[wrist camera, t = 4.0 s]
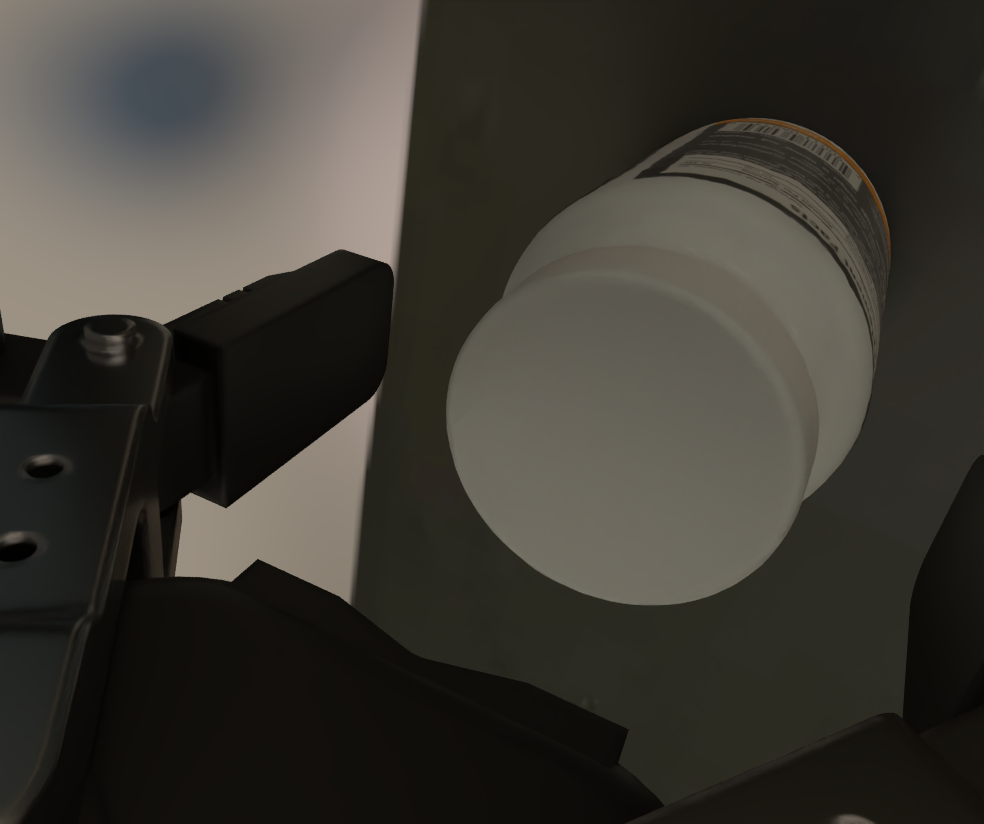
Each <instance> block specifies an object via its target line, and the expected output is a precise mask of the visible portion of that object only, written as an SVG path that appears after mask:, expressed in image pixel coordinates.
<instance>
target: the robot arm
mask: <svg viewBox="0 0 984 824" xmlns="http://www.w3.org/2000/svg"><path fill="white" fill-rule="evenodd" d="M393 288H394V276H393V272H392V269H391V267H390V266H389V265H388V264H387V263H384V262H381V261H377V260H374V259H371V258H368V257H365V256H361V255H358V254H355V253H352V252H349V251H346V250H337V251H335V252H333V253H331V254H329V255H326V256H324V257H322V258H320V259H318V260H316V261H314V262H312V263H310V264H308V265H306V266H303V267H301V268H299V269H297V270H295V271H292V272H286V273H281V274H276V275H270V276H267V277H265V278H263V279H260V280H258V281H256V282H254V283H252V284H250V285H248V286H245V287H243V291H241V290H237V291H235V292H233V293H231V294H228V295H226V296H224V297H223V300H219V299H218V300H215V301H213V302H211V303H209V304H207V305H205V306H203V307H200V308H198V309H196V310H194V311H192V312H190V313H188V314H186V315H183V316H181V317H179V318H177V319H175V320H173V321H170V322H168V323H166V324H164V325H162V324H159V323H158V322H156V321H153V320H150V319H147V318H143V317H138V316H131V315H99V316H91V317H86V318H81V319H78V320H75V321H71V322H69V323H67V324H65V325H62V326H61V327H59V328H57V329H56V330H55V331H54V332H52V333H51V335H50V336H49V338H48V340H43V339H37V338H30V337H24V336H18V335H12V334H6V333H4V330H3V324H2V318H1V313H0V824H984V456H983V455H981V456H980V457H978V458H977V459H976V461H975V462H974V463H973V465H972V466H971V468H970V470H969V472H968V474H967V475H966V477H965V479H964V481H963V483H962V485H961V487H960V489H959V491H958V493H957V495H956V497H955V499H954V501H953V503H952V505H951V507H950V509H949V511H948V513H947V515H946V517H945V519H944V521H943V523H942V525H941V527H940V529H939V531H938V533H937V535H936V537H935V539H934V541H933V543H932V545H931V546H930V548H929V550H928V552H927V554H926V557H925V559H924V561H923V563H922V565H921V568H920V571H919V573H918V576H917V579H916V582H915V585H914V589H913V593H912V597H911V603H910V615H909V630H908V645H907V660H906V675H905V690H904V705H903V719H902V718H901V717H900V716H899V715H898V714H895V713H883V714H879V715H876V716H873V717H871V718H868V719H866V720H864V721H861V722H859V723H857V724H854V725H852V726H850V727H847V728H845V729H843V730H841V731H838V732H836V733H834V734H831V735H829V736H827V737H824V738H822V739H820V740H817V741H815V742H813V743H810V744H808V745H806V746H803V747H801V748H799V749H796V750H794V751H792V752H789V753H787V754H785V755H783V756H780V757H778V758H776V759H773V760H771V761H769V762H766V763H764V764H762V765H759V766H757V767H755V768H752V769H750V770H748V771H745V772H743V773H741V774H738V775H736V776H734V777H731V778H729V779H727V780H725V781H722V782H720V783H718V784H715V785H713V786H711V787H708V788H706V789H704V790H701V791H699V792H697V793H694V794H692V795H690V796H687V797H685V798H683V799H680V800H678V801H676V802H673V803H671V804H669V805H666V806H664V805H663V803H662V802H661V801H660V800H659V799H658V798H657V797H656V796H655V795H654V794H653V793H652V792H651V791H650V790H649V789H648V788H647V787H646V786H645V785H644V784H643V783H642V782H641V781H640V780H638V779H637V778H636V777H635V776H634V775H633V774H631V773H630V772H629V771H628V770H626V769H625V768H624V767H623V766H621V765H620V764H619V763H618V761H619V758H620V755H621V752H622V749H623V746H624V743H625V740H626V737H627V734H628V730H629V729H626V728H624V727H622V726H620V725H618V724H615V723H613V722H611V721H609V720H607V719H605V718H602V717H600V716H598V715H596V714H594V713H592V712H589V711H587V710H585V709H583V708H581V707H578V706H576V705H574V704H572V703H570V702H568V701H565V700H563V699H561V698H559V697H557V696H555V695H552V694H550V693H548V692H546V691H544V690H542V689H539V688H537V687H535V686H533V685H531V684H528V683H525V682H521V681H517V680H513V679H508V678H504V677H500V676H496V675H491V674H487V673H483V672H479V671H475V670H470V669H466V668H462V667H458V666H453V665H449V664H445V663H441V662H437V661H432V660H428V659H425V658H421V657H419V656H417V655H415V654H413V653H411V652H410V651H408V650H407V649H406V648H404V647H403V646H402V645H400V644H399V643H398V642H397V641H395V640H394V639H393V638H392V637H390V636H389V635H388V634H386V633H385V632H384V631H383V630H381V629H380V628H379V627H378V626H376V625H375V624H374V623H372V622H371V621H370V620H369V619H367V618H366V617H365V616H363V615H362V614H361V613H360V612H358V611H357V610H356V609H355V608H353V607H352V606H351V605H349V604H348V603H347V602H345V601H344V600H343V599H342V598H341V597H339V596H337V595H335V594H332V593H330V592H328V591H326V590H324V589H322V588H320V587H317V586H315V585H313V584H311V583H309V582H306V581H304V580H302V579H300V578H298V577H296V576H293V575H291V574H289V573H287V572H285V571H283V570H280V569H278V568H276V567H274V566H272V565H270V564H267V563H265V562H263V561H261V560H259V559H257V560H256V561H255V562H254V563H253V564H252V565H250V567H248V568H247V569H246V570H245V571H243V573H241V574H240V575H239V576H238V577H237V578H235V579H234V580H233V581H232V582H229V581H224V580H218V579H209V578H202V577H175V570H176V563H177V554H178V547H179V539H180V532H181V524H182V508H181V499H182V498H183V497H185V496H186V495H188V494H189V493H193V494H195V495H197V496H200V497H202V498H204V499H206V500H209V501H211V502H213V503H216V504H218V505H220V506H222V507H224V508H227V507H228V506H230V505H231V504H233V503H234V502H235V501H236V500H238V499H239V498H240V497H242V496H243V495H244V494H246V493H247V492H248V491H250V490H251V489H252V488H254V487H255V486H256V485H258V484H259V483H260V482H261V481H263V480H264V479H265V478H267V477H268V476H269V475H271V474H272V473H273V472H275V471H276V470H277V469H279V468H280V467H281V466H283V465H284V464H285V463H287V462H288V461H289V460H290V459H292V458H293V457H294V456H296V455H297V454H298V453H300V452H301V451H302V450H304V449H305V448H306V447H308V446H309V445H310V444H312V443H313V442H314V441H315V440H317V439H318V438H319V437H321V436H322V435H323V434H325V433H326V432H327V431H329V430H330V429H331V428H332V427H334V426H335V425H337V424H338V423H339V422H340V421H342V420H343V419H344V418H346V417H347V416H348V415H349V414H351V413H352V412H353V411H355V410H356V409H357V408H359V407H360V406H361V405H363V404H364V403H366V402H367V401H368V400H369V399H370V398H371V397H372V396H373V395H374V394H375V392H376V391H377V389H378V387H379V385H380V383H381V381H382V379H383V376H384V373H385V370H386V365H387V357H388V346H389V334H390V323H391V311H392V300H393Z"/></svg>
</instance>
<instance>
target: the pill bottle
mask: <svg viewBox="0 0 984 824" xmlns="http://www.w3.org/2000/svg"><path fill="white" fill-rule="evenodd" d="M890 259H891V250H890V235H889V228H888V223H887V219H886V215H885V212H884V209H883V206H882V203H881V201H880V199H879V197H878V195H877V193H876V190H875V188H874V186H873V185H872V183H871V182H870V180H869V179H868V177H867V176H866V174H865V172H864V171H863V170H862V169H861V168H860V167H859V165H858V164H857V163H856V162H855V161H854V160H853V159H852V158H851V157H850V156H849V155H848V154H847V153H846V152H845V151H844V150H843V149H841V148H840V147H839V146H837V145H836V144H834V143H833V142H832V141H830V140H829V139H827V138H825V137H824V136H822V135H820V134H818V133H816V132H814V131H812V130H809V129H807V128H804V127H802V126H799V125H796V124H793V123H789V122H785V121H780V120H775V119H767V118H744V119H732V120H725V121H721V122H717V123H713V124H710V125H707V126H704V127H701V128H699V129H697V130H694V131H692V132H689V133H688V134H686V135H684V136H682V137H679V138H677V139H675V140H673V141H671V142H670V143H668V144H666V145H664V146H663V147H661V148H659V149H657V150H655V151H653V152H652V153H650V154H649V155H647V156H646V157H645V158H643V159H641V160H640V161H639V162H637V163H636V164H635V165H634V166H632V167H631V168H629V169H627V170H626V171H624V172H623V173H621V174H620V175H619V176H615V177H612V178H611V179H609V180H607V181H606V182H604V183H603V184H602V185H600V186H599V187H598V188H596V189H594V190H592V191H591V192H589V193H587V194H586V195H584V196H583V197H582V198H580V199H578V200H577V201H575V202H573V203H572V204H570V205H569V206H567V207H566V208H565V209H563V210H562V211H561V212H559V213H558V214H557V215H555V216H554V217H553V218H552V219H551V220H550V221H549V222H548V223H547V224H546V225H545V226H544V227H542V228H541V230H540V231H539V232H538V234H537V235H536V236H535V237H534V239H533V240H532V241H531V243H530V244H529V246H528V247H527V248H526V250H525V251H524V253H523V254H522V256H521V257H520V259H519V261H518V262H517V264H516V266H515V268H514V270H513V272H512V274H511V276H510V278H509V281H508V283H507V286H506V288H505V291H504V294H503V298H502V299H501V300H499V301H498V302H497V303H496V304H495V305H494V306H493V307H492V308H491V309H490V310H489V311H488V312H487V313H486V314H485V315H484V316H483V318H482V319H481V320H480V321H479V323H478V324H477V325H476V326H475V328H474V329H473V330H472V332H471V333H470V335H469V336H468V338H467V339H466V341H465V343H464V344H463V346H462V348H461V350H460V352H459V354H458V357H457V359H456V362H455V364H454V367H453V371H452V374H451V377H450V382H449V386H448V393H447V403H446V423H447V433H448V438H449V444H450V449H451V453H452V456H453V460H454V464H455V468H456V470H457V472H458V475H459V477H460V480H461V482H462V484H463V487H464V489H465V491H466V493H467V494H468V496H469V498H470V500H471V501H472V503H473V505H474V506H475V508H476V509H477V511H478V512H479V514H480V515H481V517H482V518H483V519H484V521H485V522H486V523H487V525H488V526H489V527H490V528H491V530H492V531H493V532H494V533H495V534H496V535H497V536H498V537H499V539H500V540H501V541H502V542H503V543H504V544H506V545H507V546H508V547H509V548H510V549H511V550H512V551H513V552H515V553H516V554H517V555H518V556H519V557H520V558H522V559H523V560H524V561H525V562H526V563H528V564H529V565H530V566H532V567H533V568H534V569H536V570H537V571H539V572H541V573H542V574H544V575H546V576H547V577H549V578H551V579H553V580H555V581H557V582H559V583H561V584H563V585H565V586H567V587H570V588H572V589H574V590H577V591H579V592H581V593H584V594H587V595H591V596H593V597H597V598H601V599H604V600H608V601H612V602H618V603H624V604H633V605H667V604H679V603H684V602H689V601H694V600H698V599H701V598H704V597H708V596H711V595H714V594H716V593H718V592H720V591H722V590H724V589H727V588H729V587H731V586H733V585H735V584H736V583H738V582H739V581H741V580H742V579H744V578H745V577H747V576H748V575H750V574H751V573H752V572H753V571H755V570H756V569H757V568H759V567H760V566H761V565H762V564H763V563H764V562H765V561H766V560H767V559H768V558H769V557H770V556H771V555H772V554H773V552H774V551H775V550H776V548H777V547H778V546H779V544H780V543H781V542H782V540H783V539H784V537H785V536H786V535H787V533H788V531H789V530H790V528H791V526H792V524H793V522H794V520H795V518H796V516H797V514H798V511H799V508H800V505H801V503H802V501H803V500H805V499H806V498H807V497H809V496H810V495H811V494H812V493H813V492H814V491H816V490H817V489H818V488H819V487H820V486H821V485H822V484H823V483H824V482H825V481H826V480H827V479H828V478H829V477H830V476H831V475H832V473H833V472H834V471H835V470H836V469H837V468H838V467H839V466H840V464H841V463H842V462H843V460H844V459H845V457H846V456H847V454H848V453H849V451H850V450H851V449H852V447H853V446H854V445H855V443H856V441H857V439H858V436H859V434H860V432H861V430H862V427H863V424H864V421H865V419H866V416H867V413H868V409H869V404H870V400H871V397H872V386H873V380H874V374H875V368H876V362H877V356H878V348H879V340H880V332H881V326H882V319H883V313H884V309H885V303H886V296H887V287H888V278H889V272H890Z"/></svg>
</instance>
